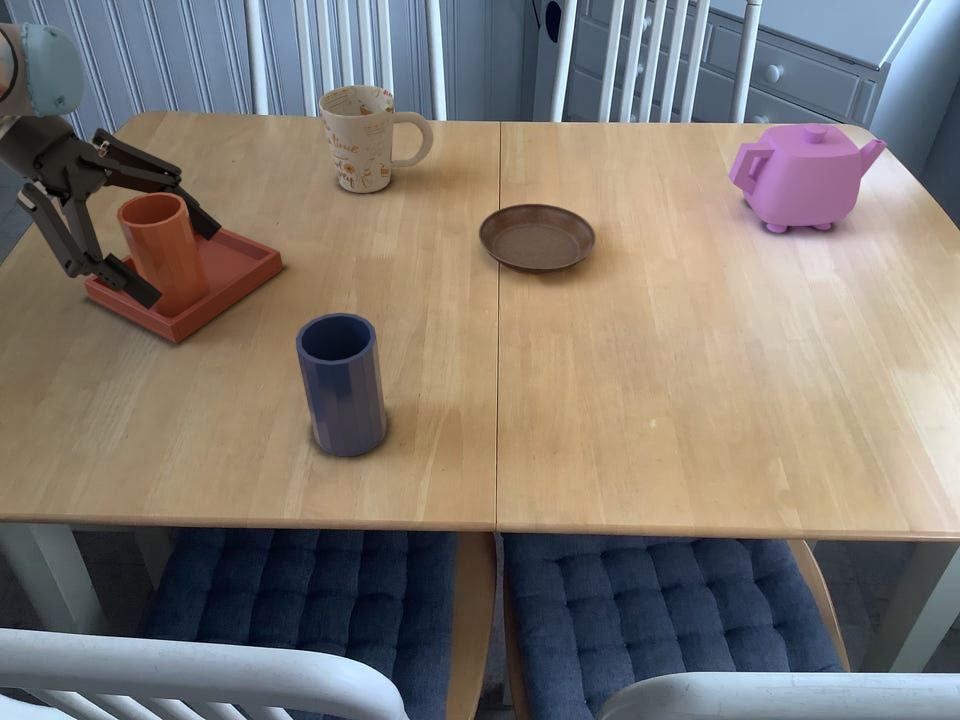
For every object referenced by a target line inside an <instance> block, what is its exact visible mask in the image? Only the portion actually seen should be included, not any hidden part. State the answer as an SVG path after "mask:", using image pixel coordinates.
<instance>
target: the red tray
mask: <svg viewBox="0 0 960 720" xmlns="http://www.w3.org/2000/svg"><path fill="white" fill-rule="evenodd" d="M193 230H194V229H193ZM194 234H195V237H196V241H197V244H198V248H199V251H200V255H201V258H202V262H203V265H204V269H205V272H206V276H207V279H208V283H209V286H210V293H211V294H209V295H208V296H206V297H205V298H203V299H202V300H200V301H199V302H197V303H196V304H194V305H193V306H192V307H190V308H189V309H187V310H186V311H184V312H183V313H181V314H180V315H178V316H163V315H160V314H158V313H156V312H154V311H152V310H151V308H150V309H149V310H148V309H146V308H145V307H144V306H142V305H141V304H140V303H139V302H137V301H136V300H135V299H133V298H132V297H131V296H130V295H128V294H127V293H126V292H124V291H123V290H122V289H121V290H120V291H116V290H114V289H113V288H111V287H110V286H109V285H107V284H106V283H105V282H103V281H102V280H101V279H100V278H98V277H97V276H96V275H94V274H93V275H91V276H90V277H88V278H87V279H85V280H83V281H82V282H83V283H82V284H83V285H84V287H85V290H86V293H87V295H88V297H89V300H91V301H93V302H95V303H97V304H98V305H101V306H102V307H104V308H107V309H109V310H110V311H112V312H115V313H116V314H118V315H120V316H122V317H124V318H126V319H127V320H130V321H132V322H133V323H135V324H137V325H139V326H140V327H143V328H145V329H147V330H149V331H151V332H152V333H154V334H156V335H158V336H160V337H163V338H165V339H166V340H168V341H170V342H172V343H174V344H176V345H178V344H179V343H180V342H182V341H183V340H185V339H186V338H187V337H189V336H190V335H192V334H193V333H194V332H196V331H197V330H199V329H200V328H202V327H203V326H205V325H206V324H207V323H209V322H210V321H212V320H213V319H215V317H217V316H219V315H220V314H222V313H223V312H224V311H226V310H227V309H229V308H230V307H232V305H234V304H236V303H238V302H239V301H240V300H241V299H243V298H245V297H246V296H247V295H248V294H250V293H252V292H253V291H254V290H256V289H257V288H259V287H260V286H261V285H263V284H264V283H266V282H267V281H269V280H270V279H271V278H273V277H274V276H276V275H277V274H278V273H280V272H281V271H282V270H284V266H283V265H284V264H283V260H282V256H281V251H279V250H276V249H274V248H272V247H270V246H267V245H264V244H262V243H259V242H257V241H256V240H253V239H250V238H247V237H245V236H243V235H241V234H238V233H235V232H234V231H231V230H229V229H227V228H224V227H223V226H222V227H221V228H220V230H219V231H218V232H217V233H216V234H215V235H214V236H213V237H212V238H211V239H210V240H209V241H207V240H206V239H205V238H204V237H203V236H201V235H200V234H199V233H198V232H197V231H195V230H194ZM120 260H121V261H122V262H123V263H125V264H126V265H127V266H128V267H130V268H131V269H132V270H133V271H135V272H136V269H135V267H134V264H133V261H132V258H131V256H130V253H129V254H127V255H126V256H124V257H122V258H120ZM136 273H137V272H136Z"/></svg>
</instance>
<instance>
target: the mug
mask: <svg viewBox="0 0 960 720" xmlns="http://www.w3.org/2000/svg"><path fill="white" fill-rule="evenodd" d="M318 108H319V112H320V116H321V119H322V123H323V127H324V130H325V135H326V138H327V141H328V145H329V148H330V152H331V156H332V160H333V164H334V167H335V170H336V174H337V177H338V181H339V185H340V186H341V187H342V188H343V189H345V190H347V191H348V192H352V193H355V194H356V193H357V194H368V193H373V192H377V191H380V190H382V189H384V188H385V187H387V186H388V185H389V183H390V181H391V175H392V168H397V169H398V168H399V169H400V168H410V167H414V166H416V165H418V164H419V163H420V162H422V161H423V160H424V159H425V158H427V156H428V155H429V153H430V151H431V149H432V148H433V145H434V131H433V128H432V126H431V124H430V123H429V121H428V120H427V119H426V118H425V117H424V116H423V115H421V114H420V113H418V112H415V111H395V98H394V95H393V94H392V93H391V92H390V91H388V90H387V89H385V88H382V87H379V86H375V85H368V84H354V85H345V86H341V87H336V88H334V89H330V91H327V92H325V93H324V94H323V95H322V96H321V97H320V98H319V102H318ZM406 123H411V124H413V125H415V126H416V127H417V128H418V129H419V131H420V133H421V135H422V142H421V145H420V148H419V150H418V151H417V152H416V153H415V155H414V156H412V157H411V158H408V159H396V160H395V159H394V160H392V159H393V158H392V156H393V139H394V125H395V124H406Z"/></svg>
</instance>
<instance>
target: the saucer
mask: <svg viewBox="0 0 960 720" xmlns="http://www.w3.org/2000/svg"><path fill="white" fill-rule="evenodd" d="M596 236H597V235H596V233H595V230H594V228H593V226H592V224H590V222H589V221H587V220H586V219H585V218H584V217H582V216H581V215H579V214H577V212H574V211H571V210H569V209H566V208H563V207H560V206H557V205H553V204H552V205H551V204H546V203H521V204H520V203H519V204H514V205H509V206H505V207H503V208H502V207H501V208H500V209H498V210H496V211H494V212H492V213H491V214H489V215H488V216H486V217H485V219H483V221H482V222H481V224H480V225H479V228H478V239H479V242H480V244H481V246H482V247H483V248H484V250H485V251H486V253H488V255H490V257H492V258H493V259H494V260H495V261H496V262H497V263H499V264H501V265H502V266H504V267H506V268H508V269H510V270H512V271H515V272H518V273H522V274H526V275H533V276H535V275H536V276H537V275H538V276H543V275H553V274H557V273H560V272H563V271H566V270H568V269H571V268H573V267H574V266H576V265H577V264H579V263H580V262H582V261H583V260H584V259H586V257H587V256H589V255H590V254H591V253H592V252H593V250H594V248H595V246H596V242H597V241H596V240H597V237H596Z"/></svg>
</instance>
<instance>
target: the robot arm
mask: <svg viewBox="0 0 960 720" xmlns="http://www.w3.org/2000/svg"><path fill="white" fill-rule="evenodd" d="M84 77H85V76H84V69H83V64H82V60H81V57H80V54H79V51H78V48H77V47H76V45H75V43H74V42H73V40H72V39H71V37H70V36H69V35H68V34H67V33H66V32H65V31H64V30H63V29H61V28H60V27H57V26H55V25H51V24H36V23H35V24H34V23H31V22H30V21H24V22H23V23H5V22H0V162H1V163H2V164H4V165H5V166H6V167H7V168H9V170H11V171H12V172H13V173H14V174H17V175H18V176H19V177H20V178H22V179H26V180H27V179H29V180H30V181H31V182H32V183H31V182H25V183H24V184H23V185H22V187H21V188H20V190H19V191H18V193H17V194H16V196H15V202H16V203H17V205H18V206H19V207H21V208H22V210H24V211H25V212H26V213H27V214H28V215H29V216H30V217H31V218H32V220H33V222H34V223H35V225H36V227H37V228H38V230H39V231H40V234H41V235H42V237H43V238H44V240H45V242H46V243H47V245H48V246H49V248H50V250H51V251H52V253H53V255H54V256H55V258H56V260H57V261H58V263H59V265H60V267H61V268H62V270H63V271H64V272H65V275H66V276H67V277H68V278H71V279H76V278H77V277H79V276H80V275H81V276H83V277H89V276H91V274H93V275H96V276H97V277H98V278H100V279H101V280H102V281H103V282H105V283H106V284H107V285H109V286H110V287H111V288H113V289H114V290H116V291H120V290H121V289H122V290H123V291H124V292H126V293H127V294H128V295H130V296H131V297H132V298H133V299H135V300H136V301H137V302H139V303H140V304H141V305H142V306H144V307H145V308H146V309H148V310H149V309H150V308H151V307H152V306H153V305H154V304H155V303H156V302H157V301H158V300H159V299H160V297H161V296H162V295H163V294H162V293H161V292H160V291H159V290H157V289H156V288H155V287H154V286H152V285H151V284H150V283H149V282H147V281H146V280H145V279H144V278H142V277H141V276H140V275H138V274H137V273H136V272H135V271H133V270H132V269H131V268H130V267H128V266H127V265H126V264H125V263H123V262H122V261H121V258H118V257H117V256H116V255H115V254H113V253H112V252H109V253H108V254H107V256H106V257H104V255H103V251H102V249H101V247H100V242H99V239H98V236H97V234H96V230H95V228H94V225H93V224H94V223H93V222H92V219H91V215H90V212H89V209H88V206H87V201H88V200H89V199H90V198H91V196H92V195H94V194H96V193H98V192H99V191H100V190H101V189H102V187H104V188H105V187H106V188H108V187H111V186H112V187H117V188H121V189H127V190H130V191H136V192H140V193H145V194H149V193H159V192H163V193H172V194H175V195H177V196H180V197H182V199H183V200H184V201H185V203H186V206H187V210H188V213H189V217H190V220H191V223H192V227H193V229H194V230H195V231H197V232H198V233H199V234H200V235H201V236H203V237H204V238H205V239H206V240H207V241H209V240H210V239H211V238H212V237H213V236H214V235H215V234H216V233H217V232H218V231H219V230H220V228H221V227H222V228H223V225H222V224H220V222H218V220H216V219H215V218H214V217H212V216H211V215H210V214H209V213H208V212H206V211H205V210H204V209H203V208H201V203H199V201H198V200H197V199H196V198H194V196H192V195H191V194H190V193H188V192H187V191H186V190H185V189H184V188H182V186H181V185H180V184H181V182H182V180H183V178H182V176H181V175H182V173H183V170H182V169H181V168H180V166H177V165H175V164H173V163H171V162H168V161H167V160H165V159H161V158H160V157H157V156H155V155H153V154H151V153H149V152H146V151H144V150H142V149H140V148H138V147H135V146H133V145H131V144H128V143H126V142H124V141H122V140H120V139H118V138H116V137H115V136H114V135H112V134H111V133H110V132H108V130H105V129H104V128H101V127H98V128H96V129H95V131H94V132H93V134H92V136H91V137H90V139H89V140H88V141H85V140H83V139H81V138H80V137H79V136H78V135H77V134H76V132H75V129H74V126H73V125H72V124H71V123H70V122H69V121H67V120H66V119H65V118H64V117H63V116H65V115H69V114H72V113H73V112H75V111H76V110H77V109H78V108H79V106H80V105H81V103H82V101H83V98H84V93H85V79H84ZM49 196H50V197H53V198H56V201H57V203H58V207H59V209H60V213H61V215H62V216H65V220H66V223H67V225H66V223H65V222H64V220H63V218H62V217H61V215H60V213H59V212H58V211H57V208H56V207H55V205H54V204H53V202H52V201H51V200H50V198H49ZM67 226H68V227H67Z"/></svg>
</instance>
